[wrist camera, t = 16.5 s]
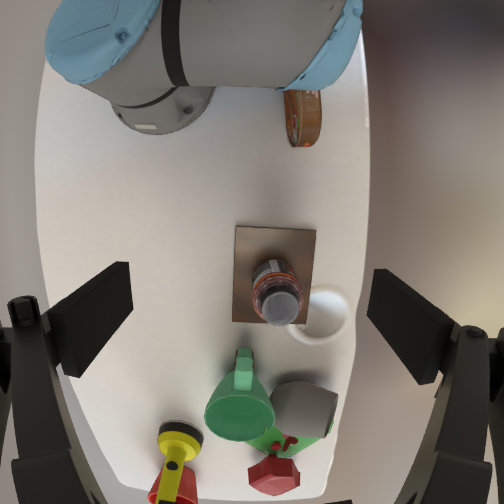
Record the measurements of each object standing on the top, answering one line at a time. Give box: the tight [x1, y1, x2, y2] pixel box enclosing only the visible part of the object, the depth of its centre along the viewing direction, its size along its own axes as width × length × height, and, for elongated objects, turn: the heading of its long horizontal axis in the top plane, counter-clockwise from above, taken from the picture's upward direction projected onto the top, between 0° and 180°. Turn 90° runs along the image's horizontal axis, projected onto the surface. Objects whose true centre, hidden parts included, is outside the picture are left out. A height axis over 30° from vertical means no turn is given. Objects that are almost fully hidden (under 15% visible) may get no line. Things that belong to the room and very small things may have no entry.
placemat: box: [232, 226, 316, 324], centre depth 42 cm, size 14×11×1 cm
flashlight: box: [155, 420, 204, 504], centre depth 37 cm, size 25×9×9 cm
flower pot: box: [148, 466, 198, 504], centre depth 48 cm, size 11×11×10 cm
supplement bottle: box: [252, 259, 304, 326], centre depth 36 cm, size 6×6×11 cm
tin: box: [284, 89, 322, 147], centre depth 33 cm, size 15×3×8 cm, turn 3°
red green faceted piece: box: [245, 421, 333, 496], centre depth 45 cm, size 15×20×9 cm
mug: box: [204, 348, 275, 442], centre depth 41 cm, size 15×10×10 cm
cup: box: [269, 381, 338, 438], centre depth 42 cm, size 10×9×10 cm
